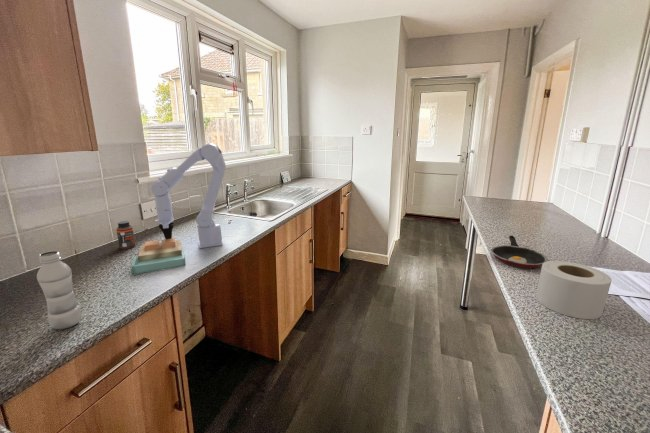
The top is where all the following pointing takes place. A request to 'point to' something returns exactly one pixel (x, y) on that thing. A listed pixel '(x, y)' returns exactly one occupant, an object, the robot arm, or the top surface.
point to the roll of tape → (573, 289)
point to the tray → (158, 264)
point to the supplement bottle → (125, 235)
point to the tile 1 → (152, 245)
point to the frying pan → (518, 255)
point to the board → (160, 252)
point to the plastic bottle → (58, 291)
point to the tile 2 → (168, 243)
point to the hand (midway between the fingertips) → (168, 239)
